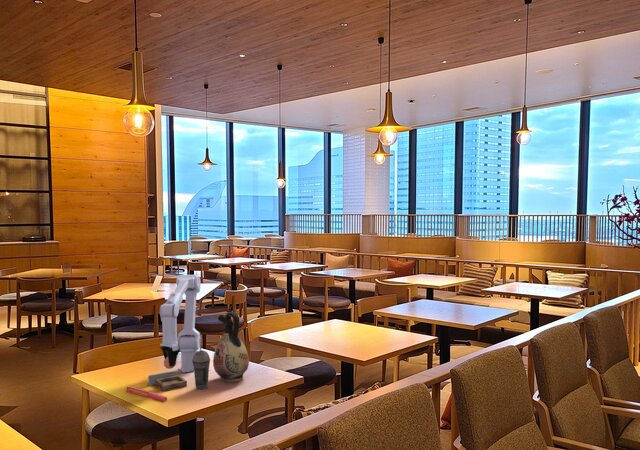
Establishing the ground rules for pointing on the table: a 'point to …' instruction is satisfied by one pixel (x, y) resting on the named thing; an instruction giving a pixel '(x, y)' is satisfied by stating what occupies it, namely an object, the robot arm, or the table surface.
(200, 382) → the beverage cup
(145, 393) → the pink long bar
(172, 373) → the partition
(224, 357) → the ceramic jug
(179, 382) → the tray
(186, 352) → the robot arm
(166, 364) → the ball
